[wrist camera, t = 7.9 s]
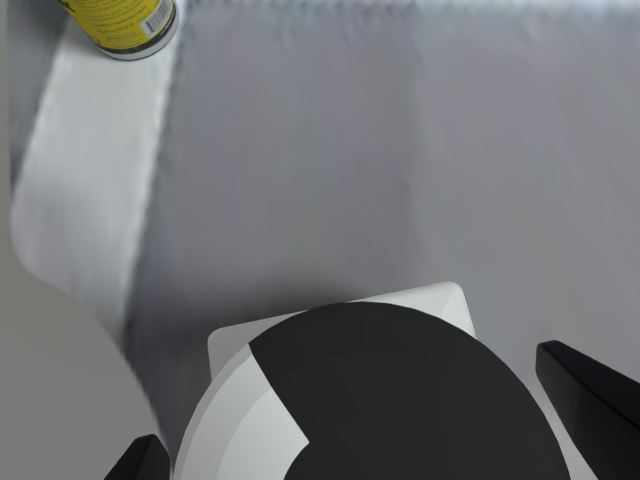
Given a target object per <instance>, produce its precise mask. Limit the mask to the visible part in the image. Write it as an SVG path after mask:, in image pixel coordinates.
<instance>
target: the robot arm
mask: <svg viewBox="0 0 640 480" xmlns="http://www.w3.org/2000/svg"><path fill="white" fill-rule="evenodd" d="M535 369H536V374H537V377H538V379H539V381H540V383H541V385H542V387H543V388H544V390H545V392H546V394H547V396H548V398H549V399H550V401H551V403H552V405H553V407H554V409H555V411H556V412H557V414H558V416H559V418H560V420H561V422H562V423H563V425H564V427H565V429H566V431H567V433H568V434H569V436H570V438H571V439H572V441H573V443H574V444H575V446H576V447H577V449H578V451H579V452H580V454H581V455H582V457H583V458H584V459H585V461H586V462H587V464H588V465H589V467H590V468H591V470H592V471H593V473H594V474H595V476H596V477H597V479H598V480H640V383H638V382H636V381H635V380H633V379H631V378H629V377H627V376H625V375H623V374H621V373H619V372H617V371H615V370H613V369H612V368H610V367H608V366H606V365H604V364H602V363H600V362H598V361H596V360H594V359H592V358H591V357H589V356H587V355H585V354H583V353H581V352H579V351H577V350H575V349H573V348H571V347H569V346H568V345H566V344H564V343H562V342H560V341H557V340H551V341H547V342H543V343H540V344H538V346H537V349H536V366H535ZM169 479H170V457H169V455H168V453H167V451H166V450H165V448H164V446H163V445H162V443H161V442H160V440H159V438H158V437H157V436H156V435H154V434H150V435H146V436H142V437H138V438H137V439H135V440H134V441H133V442H132V444H131V445H130V446H129V448H128V449H127V451H126V452H125V453H124V454H123V455H122V457H121V458H120V459H119V460H118V462H117V463H116V465H115V466H114V467H113V468H112V470H111V471H110V472H109V473H108V475H107V476H106V477H105V479H104V480H169Z"/></svg>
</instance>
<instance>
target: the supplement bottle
mask: <svg viewBox="0 0 640 480" xmlns="http://www.w3.org/2000/svg"><path fill="white" fill-rule="evenodd" d="M58 1H59V2H60V3H61V4H62V5H63V7H64V8H65V9H66V10H67V11H68V13H69V14H70V15H71V16H72V17H73V19H74V20H75V21H76V22H77V23H78V25H79V26H80V27H81V28H82V29H83V31H84V32H85V33H86V34H87V35H88V37H89V38H90V39H91V40H92V41H93V42H94V43H95V45H96V46H97V47H98V48H99V49H100V50H102V51H103V52H104V53H106V54H107V55H109V56H111V57H114V58H118V59H124V60H132V59H139V58H143V57H146V56H149V55H151V54H153V53H155V52H157V51H158V50H160V49H161V48H162V47H164V46H165V45H166V44H167V43H168V42H169V40H170V39H171V38H172V36H173V35H174V33H175V31H176V29H177V26H178V21H179V11H178V6H177V3H176V1H175V0H58Z"/></svg>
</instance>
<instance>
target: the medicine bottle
mask: <svg viewBox="0 0 640 480" xmlns="http://www.w3.org/2000/svg"><path fill="white" fill-rule="evenodd" d="M208 353H209V362H210V370H211V379H212V382H211V384H210V386H209V387H208V389H207V390H206V392H205V394H204V395H203V397H202V398H201V400H200V402H199V403H198V405H197V407H196V409H195V411H194V414H193V416H192V418H191V420H190V422H189V424H188V427H187V429H186V431H185V434H184V437H183V440H182V443H181V447H180V450H179V453H178V456H177V459H176V465H175V470H174V475H173V480H571V479H570V474H569V471H568V468H567V465H566V463H565V460H564V457H563V454H562V452H561V449H560V446H559V443H558V441H557V439H556V437H555V435H554V433H553V431H552V429H551V427H550V425H549V423H548V421H547V419H546V417H545V415H544V413H543V412H542V410H541V409H540V407H539V406H538V404H537V403H536V401H535V400H534V398H533V397H532V395H531V394H530V392H529V391H528V389H527V388H526V387H525V386H524V384H523V383H522V382H521V381H520V380H519V379H518V377H517V376H516V375H515V374H514V373H513V372H512V370H511V369H510V368H509V367H508V366H507V365H506V364H505V363H504V362H503V361H502V360H501V359H500V358H498V357H497V356H496V355H495V354H494V353H493V352H492V351H491V350H490V349H488V348H487V347H486V346H485V345H484V344H482V343H481V342H479V341H478V340H477V338H476V335H475V331H474V328H473V325H472V321H471V318H470V315H469V311H468V308H467V304H466V301H465V298H464V294H463V291H462V289H461V288H460V286H459V285H457V284H456V283H454V282H447V281H445V282H440V283H435V284H430V285H426V286H421V287H416V288H411V289H406V290H402V291H397V292H392V293H387V294H382V295H377V296H373V297H368V298H363V299H358V300H353V301H349V302H344V303H336V304H331V305H326V306H321V307H316V308H313V309H310V310H305V311H300V312H296V313H291V314H286V315H281V316H276V317H271V318H267V319H262V320H257V321H252V322H247V323H242V324H238V325H233V326H228V327H223V328H219V329H217V330H215V331H213V332H212V333H211V335H210V336H209V337H208Z"/></svg>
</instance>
